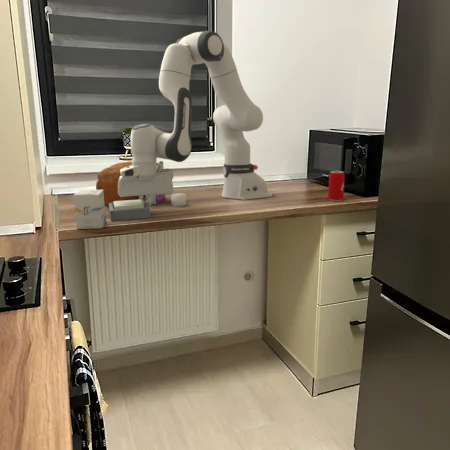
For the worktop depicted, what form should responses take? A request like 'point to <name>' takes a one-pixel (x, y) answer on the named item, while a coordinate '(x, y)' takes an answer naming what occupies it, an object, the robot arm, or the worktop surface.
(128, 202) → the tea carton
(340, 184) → the beverage can
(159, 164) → the candy bar box
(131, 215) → the grey rectangular tray
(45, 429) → the worktop surface
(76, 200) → the ink box
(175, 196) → the white rounded block
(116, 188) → the bread
